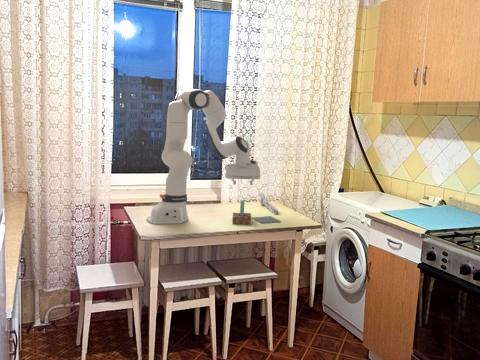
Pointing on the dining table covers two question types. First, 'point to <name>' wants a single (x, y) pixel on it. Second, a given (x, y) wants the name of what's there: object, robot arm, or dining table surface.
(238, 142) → the robot arm
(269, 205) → the wrench
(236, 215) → the slot holder
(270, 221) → the rubber mat
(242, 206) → the scraper tool
